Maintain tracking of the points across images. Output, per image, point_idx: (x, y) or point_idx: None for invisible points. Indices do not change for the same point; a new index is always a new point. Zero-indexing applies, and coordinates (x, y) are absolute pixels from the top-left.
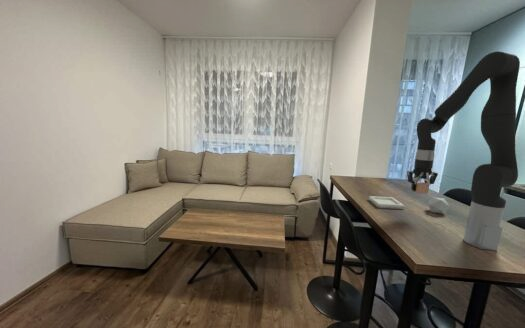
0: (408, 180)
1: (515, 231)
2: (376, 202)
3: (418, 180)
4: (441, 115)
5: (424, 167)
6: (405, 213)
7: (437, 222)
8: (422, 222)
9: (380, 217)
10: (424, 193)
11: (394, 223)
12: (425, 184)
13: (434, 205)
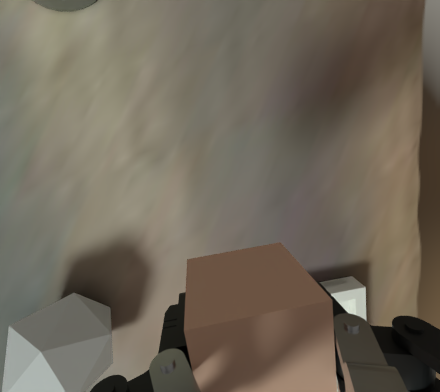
0: (436, 378)
1: None
2: (363, 311)
3: (353, 362)
4: None
5: None
6: (250, 245)
7: (141, 174)
8: (215, 150)
9: (387, 153)
10: (215, 255)
11: (352, 96)
12: (232, 316)
13: (94, 321)
